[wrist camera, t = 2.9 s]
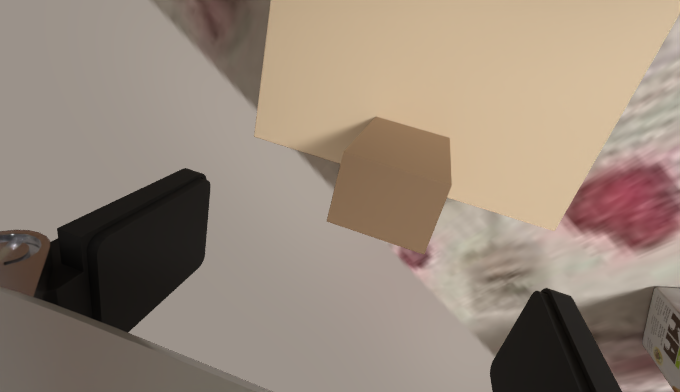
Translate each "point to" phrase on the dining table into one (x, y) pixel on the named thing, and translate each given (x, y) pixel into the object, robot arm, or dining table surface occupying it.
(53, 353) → the robot arm
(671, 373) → the coffee box
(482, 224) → the dining table surface
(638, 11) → the wooden box lid
